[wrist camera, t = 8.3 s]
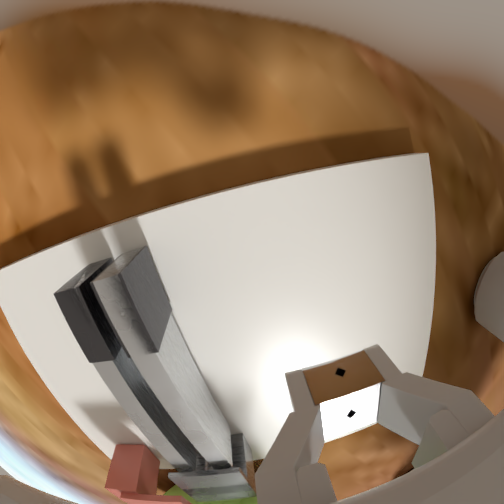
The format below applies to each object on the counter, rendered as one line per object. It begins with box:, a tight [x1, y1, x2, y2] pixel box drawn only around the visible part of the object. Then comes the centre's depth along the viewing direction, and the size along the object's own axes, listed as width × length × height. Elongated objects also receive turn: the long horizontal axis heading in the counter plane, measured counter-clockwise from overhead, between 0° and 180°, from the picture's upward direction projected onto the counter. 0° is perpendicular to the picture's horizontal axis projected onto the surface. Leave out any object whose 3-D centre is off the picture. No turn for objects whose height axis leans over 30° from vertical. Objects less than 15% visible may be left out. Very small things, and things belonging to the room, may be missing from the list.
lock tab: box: [105, 444, 192, 504], centre depth 15 cm, size 3×6×6 cm, turn 103°
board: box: [0, 153, 436, 469], centre depth 17 cm, size 22×30×2 cm
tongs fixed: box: [54, 257, 257, 502], centre depth 14 cm, size 18×5×5 cm, turn 13°
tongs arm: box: [90, 246, 233, 470], centre depth 13 cm, size 14×2×4 cm, turn 15°
